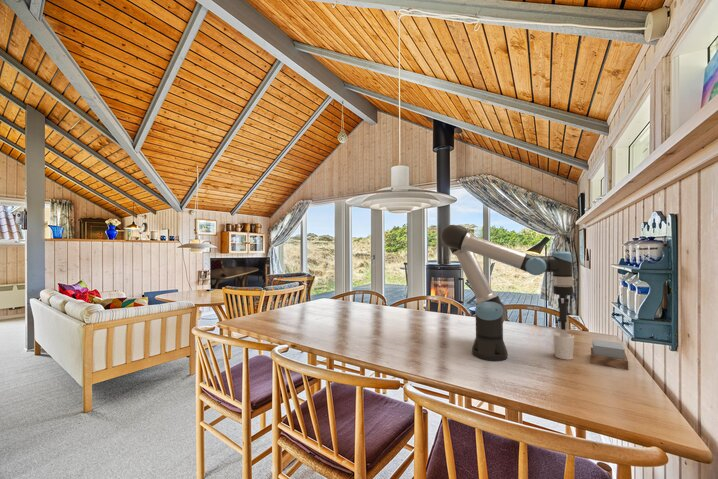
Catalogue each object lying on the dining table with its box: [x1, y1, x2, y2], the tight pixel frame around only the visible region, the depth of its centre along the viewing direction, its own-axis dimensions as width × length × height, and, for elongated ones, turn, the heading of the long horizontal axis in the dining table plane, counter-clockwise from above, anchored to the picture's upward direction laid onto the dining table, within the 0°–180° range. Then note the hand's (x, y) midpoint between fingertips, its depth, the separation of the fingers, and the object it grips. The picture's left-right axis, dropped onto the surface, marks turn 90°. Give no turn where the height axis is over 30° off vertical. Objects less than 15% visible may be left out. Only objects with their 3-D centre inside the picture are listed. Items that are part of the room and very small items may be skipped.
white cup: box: [552, 331, 575, 360], centre depth 141 cm, size 8×8×10 cm
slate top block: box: [592, 338, 626, 359], centre depth 135 cm, size 10×10×4 cm
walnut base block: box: [590, 346, 629, 371], centre depth 135 cm, size 12×12×4 cm
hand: (564, 333), depth 141 cm, fingers open, 13 cm apart
